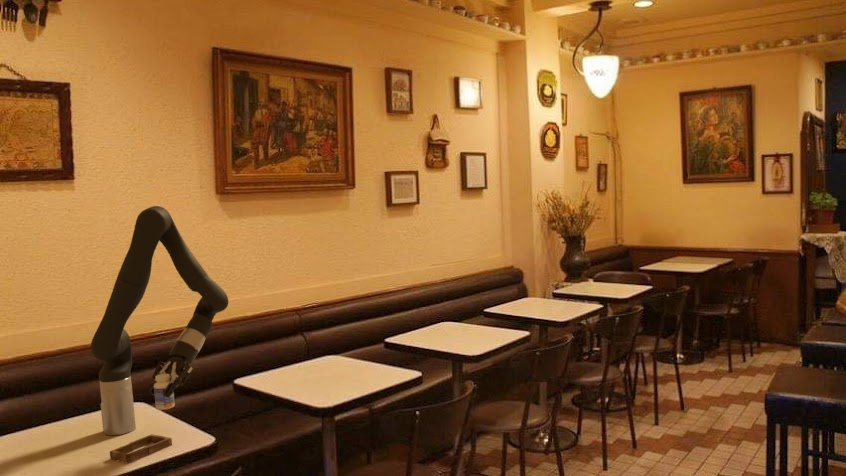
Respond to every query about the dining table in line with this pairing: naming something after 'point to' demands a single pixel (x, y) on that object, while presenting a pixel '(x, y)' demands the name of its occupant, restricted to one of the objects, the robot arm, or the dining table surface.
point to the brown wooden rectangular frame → (129, 456)
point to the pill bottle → (159, 389)
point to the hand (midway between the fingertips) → (159, 395)
